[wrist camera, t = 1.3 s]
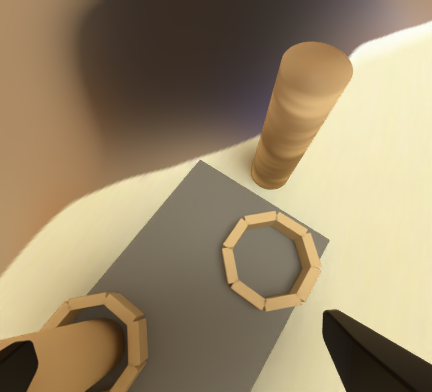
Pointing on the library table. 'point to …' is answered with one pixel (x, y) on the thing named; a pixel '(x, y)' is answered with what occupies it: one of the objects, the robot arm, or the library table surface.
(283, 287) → the board
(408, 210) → the library table surface
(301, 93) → the pin
